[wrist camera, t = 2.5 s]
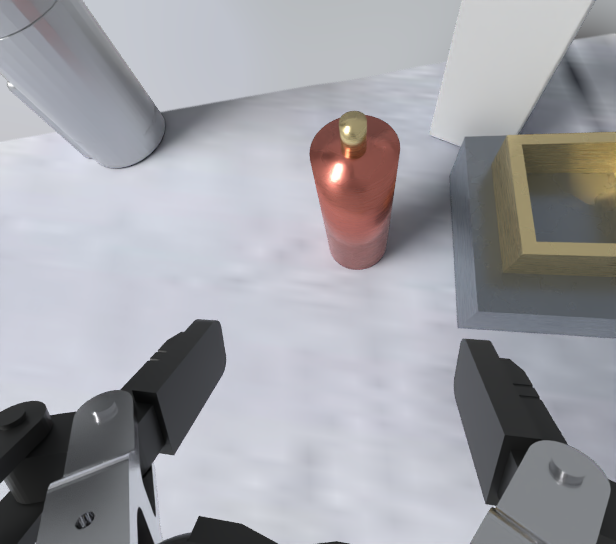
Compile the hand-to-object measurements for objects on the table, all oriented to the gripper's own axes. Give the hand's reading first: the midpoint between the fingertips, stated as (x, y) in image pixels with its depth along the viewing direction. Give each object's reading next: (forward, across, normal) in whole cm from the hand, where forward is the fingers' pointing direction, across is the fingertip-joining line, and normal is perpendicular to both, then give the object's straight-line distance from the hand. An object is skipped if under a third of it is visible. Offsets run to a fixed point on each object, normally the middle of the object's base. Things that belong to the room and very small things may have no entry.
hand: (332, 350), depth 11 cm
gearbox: (+19, -14, +3) cm, 24 cm away
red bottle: (+19, 0, +3) cm, 20 cm away
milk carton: (+29, -11, -6) cm, 31 cm away
